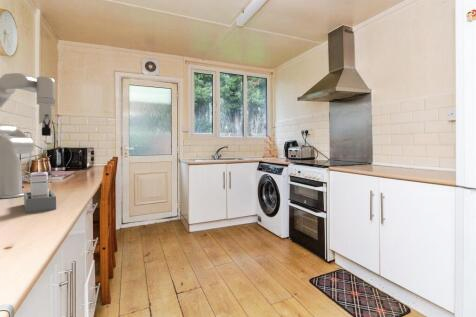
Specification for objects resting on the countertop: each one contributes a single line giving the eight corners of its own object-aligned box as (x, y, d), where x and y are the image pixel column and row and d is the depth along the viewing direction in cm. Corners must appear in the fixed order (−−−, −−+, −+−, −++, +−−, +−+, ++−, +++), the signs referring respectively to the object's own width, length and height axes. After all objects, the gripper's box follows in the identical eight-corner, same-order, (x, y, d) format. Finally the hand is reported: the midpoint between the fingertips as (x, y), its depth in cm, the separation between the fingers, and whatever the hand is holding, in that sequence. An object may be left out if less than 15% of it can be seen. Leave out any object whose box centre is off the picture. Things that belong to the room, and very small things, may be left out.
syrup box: (48, 206, 108) (47, 172, 107) (31, 208, 104) (29, 173, 103) (49, 203, 112) (48, 171, 112) (32, 205, 109) (31, 172, 108)
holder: (24, 204, 115) (23, 192, 115) (51, 201, 122) (50, 190, 122) (25, 213, 101) (25, 199, 101) (56, 209, 108) (56, 196, 108)
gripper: (36, 102, 132) (36, 135, 132) (37, 99, 118) (37, 135, 119) (53, 104, 136) (53, 136, 137) (56, 101, 123) (56, 136, 124)
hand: (46, 135), depth 128 cm, fingers open, 9 cm apart
